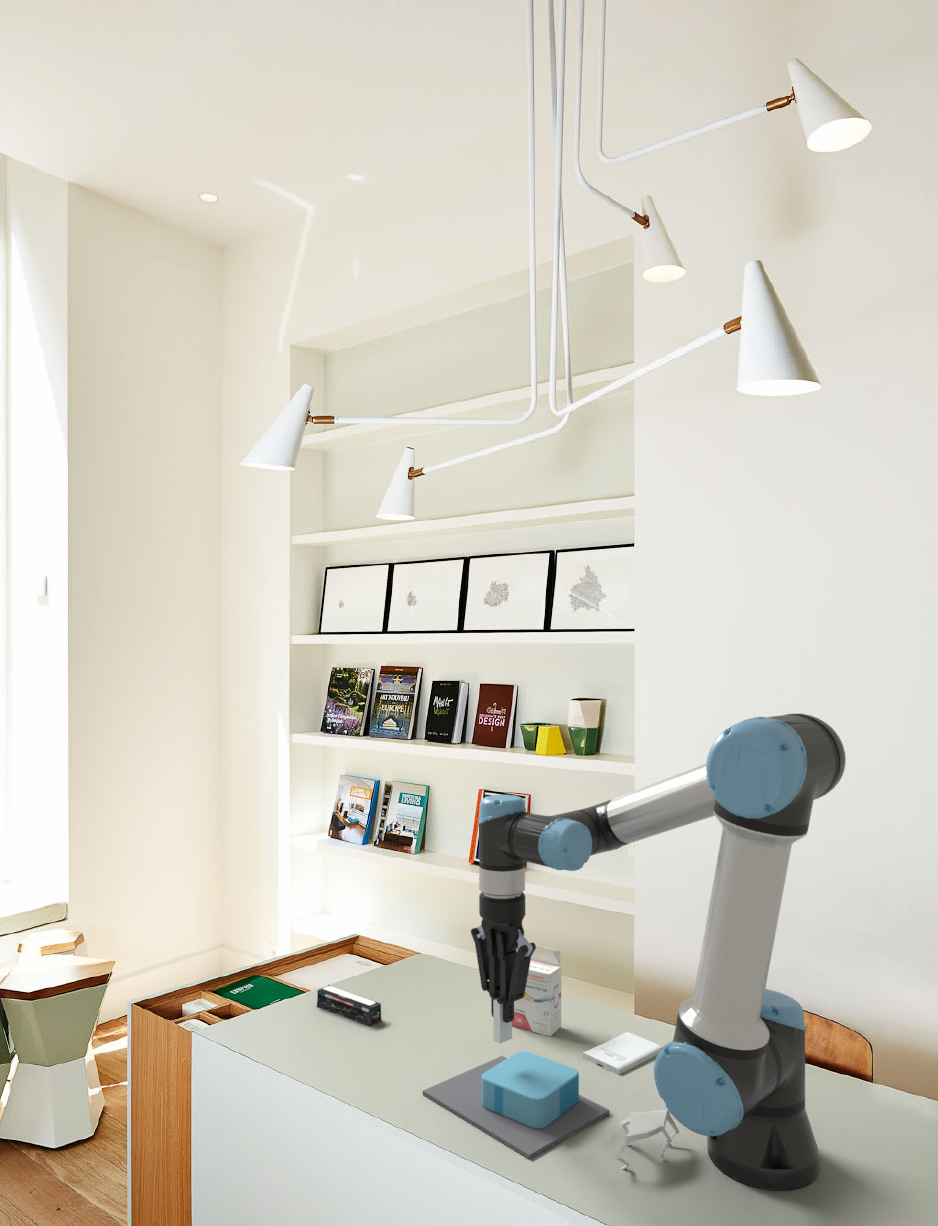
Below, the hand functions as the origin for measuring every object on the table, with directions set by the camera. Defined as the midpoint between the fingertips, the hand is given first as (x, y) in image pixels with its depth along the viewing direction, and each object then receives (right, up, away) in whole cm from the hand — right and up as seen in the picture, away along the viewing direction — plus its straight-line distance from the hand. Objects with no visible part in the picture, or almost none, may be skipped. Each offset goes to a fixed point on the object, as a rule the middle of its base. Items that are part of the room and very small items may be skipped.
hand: (502, 1039), depth 142 cm
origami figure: (+19, -9, -16) cm, 27 cm away
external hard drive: (+22, -11, +14) cm, 28 cm away
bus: (-28, -11, +30) cm, 42 cm away
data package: (-1, -6, +1) cm, 6 cm away
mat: (+2, -9, -2) cm, 10 cm away
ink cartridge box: (+7, -10, +26) cm, 29 cm away
